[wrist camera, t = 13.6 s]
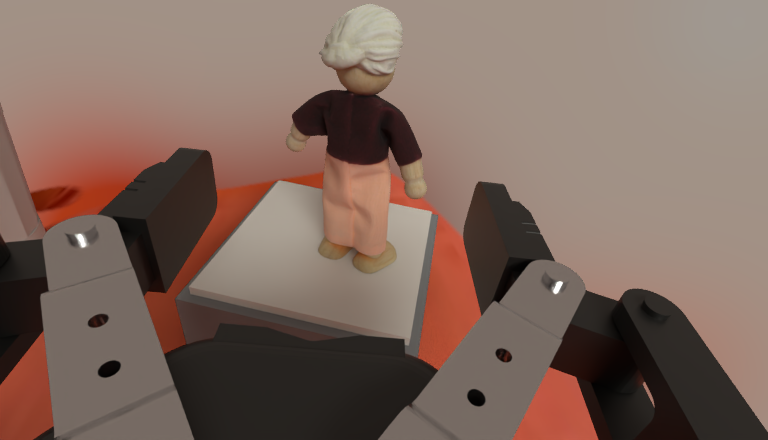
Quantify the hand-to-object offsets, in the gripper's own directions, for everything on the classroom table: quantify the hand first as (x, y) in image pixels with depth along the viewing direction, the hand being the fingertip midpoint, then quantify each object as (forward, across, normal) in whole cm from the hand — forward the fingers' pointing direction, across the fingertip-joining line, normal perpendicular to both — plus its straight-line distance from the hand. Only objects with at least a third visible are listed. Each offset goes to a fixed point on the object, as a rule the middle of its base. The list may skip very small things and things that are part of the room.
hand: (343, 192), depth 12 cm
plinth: (+8, +1, +14) cm, 16 cm away
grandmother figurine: (+8, 0, +9) cm, 11 cm away
